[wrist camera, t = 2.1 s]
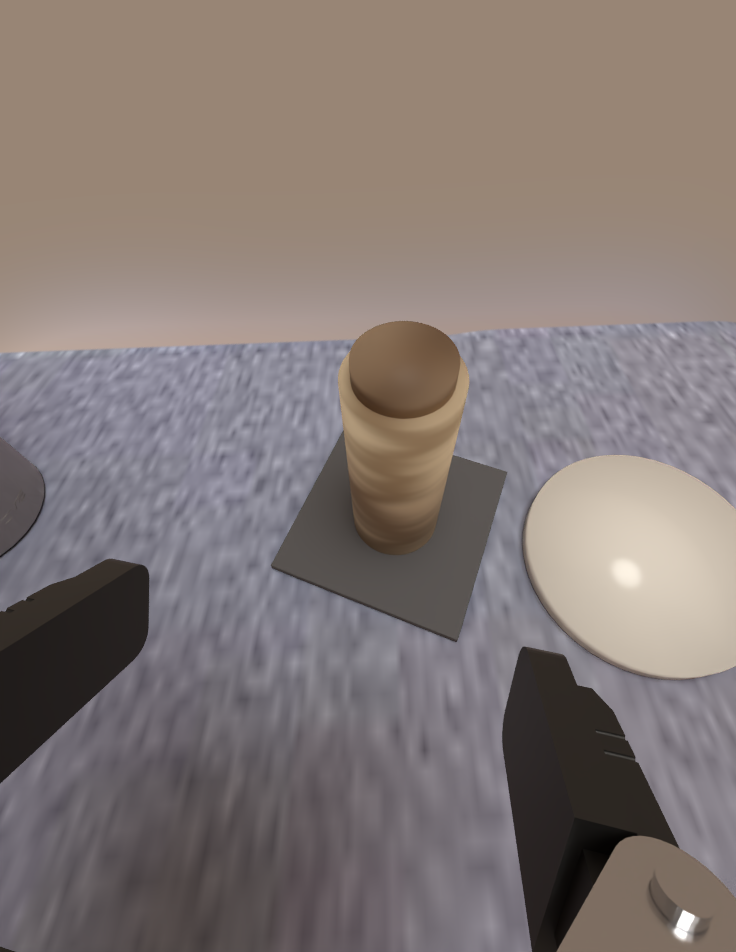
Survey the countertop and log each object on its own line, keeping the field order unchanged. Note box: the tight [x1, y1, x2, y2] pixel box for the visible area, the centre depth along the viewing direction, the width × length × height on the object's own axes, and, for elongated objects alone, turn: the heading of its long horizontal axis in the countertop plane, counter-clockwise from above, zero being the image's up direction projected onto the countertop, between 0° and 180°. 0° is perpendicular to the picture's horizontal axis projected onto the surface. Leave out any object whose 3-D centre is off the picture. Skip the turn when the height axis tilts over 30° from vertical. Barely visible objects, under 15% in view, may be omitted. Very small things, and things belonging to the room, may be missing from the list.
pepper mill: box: [338, 321, 469, 555], centre depth 24 cm, size 5×5×14 cm
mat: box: [271, 430, 507, 642], centre depth 30 cm, size 12×12×1 cm
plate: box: [523, 455, 736, 680], centre depth 28 cm, size 14×14×1 cm
